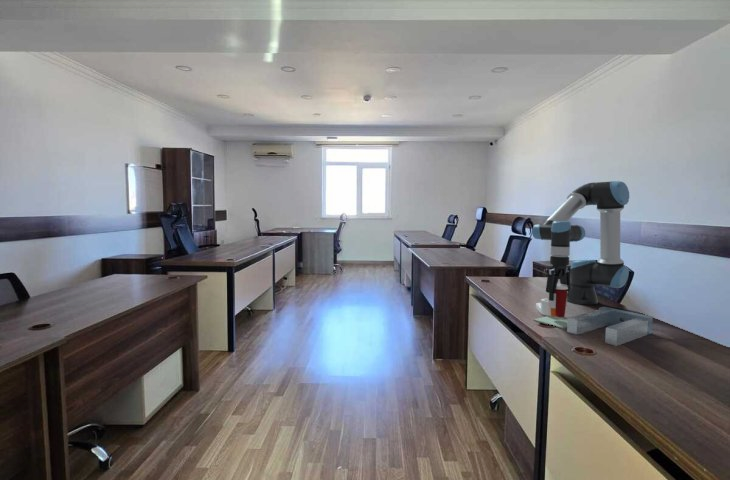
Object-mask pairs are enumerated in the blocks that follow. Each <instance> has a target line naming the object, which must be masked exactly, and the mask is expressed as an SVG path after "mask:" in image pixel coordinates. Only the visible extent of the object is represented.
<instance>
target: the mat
mask: <svg viewBox="0 0 730 480" xmlns="http://www.w3.org/2000/svg"><path fill="white" fill-rule="evenodd" d="M533 321H534V322H537V323H541V324H545V325H548V324H549V325H548V326H551V325H553V326H552V327H555V326H556V327H555V328H560V329H563V330H564V329H567V318H565V317H554V316H546V315H545V316H542V317H539V318H538V317H537V318H533Z"/></svg>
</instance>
